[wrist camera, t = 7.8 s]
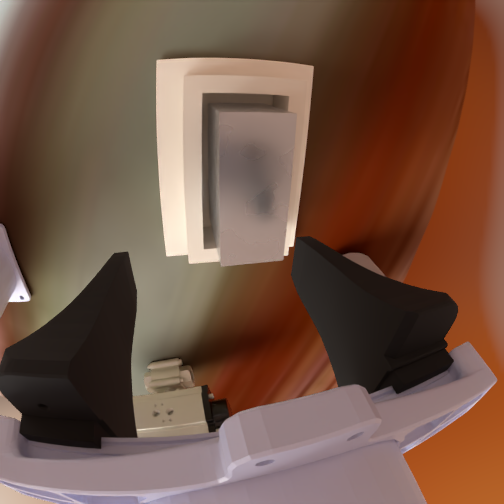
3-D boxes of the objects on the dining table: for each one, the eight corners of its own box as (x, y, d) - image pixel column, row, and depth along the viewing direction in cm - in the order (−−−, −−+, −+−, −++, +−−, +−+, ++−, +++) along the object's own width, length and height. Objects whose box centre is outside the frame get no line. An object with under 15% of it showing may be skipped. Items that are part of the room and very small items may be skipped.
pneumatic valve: (222, 368, 32) (244, 462, 23) (130, 384, 31) (132, 474, 21) (213, 339, 29) (235, 447, 20) (110, 358, 28) (105, 459, 18)
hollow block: (166, 249, 22) (166, 281, 19) (158, 61, 15) (151, 55, 12) (289, 239, 25) (306, 267, 21) (307, 66, 17) (335, 65, 14)
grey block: (209, 217, 21) (220, 266, 16) (207, 103, 16) (219, 112, 11) (257, 213, 21) (283, 260, 17) (262, 103, 17) (297, 113, 12)
